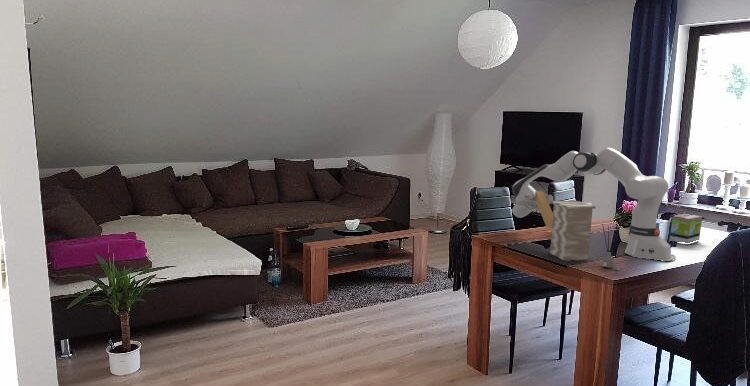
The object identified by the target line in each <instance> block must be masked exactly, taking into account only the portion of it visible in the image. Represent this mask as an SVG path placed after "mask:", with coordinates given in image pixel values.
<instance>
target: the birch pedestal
mask: <svg viewBox="0 0 750 386" xmlns="http://www.w3.org/2000/svg"><path fill="white" fill-rule="evenodd" d="M586 203H587V202H584V203H583V201H580V200H553V201H551V204H553V208H552V209H553V210H552V212H553V222H552V228H551V239H550V250H549V251H550V252H549V253H550V254H551V255H553V256H554V257H556V258H559V259H561V260H562V261H564V260H565V262H568V261H569V262H571V261H570V260H575V261H589V253H590V243H591V242H590V240H591V230H592V219H593V209H594V210H595V209H597V207H596V206H595V205H593V204H592V205H590V204H586Z"/></svg>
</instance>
